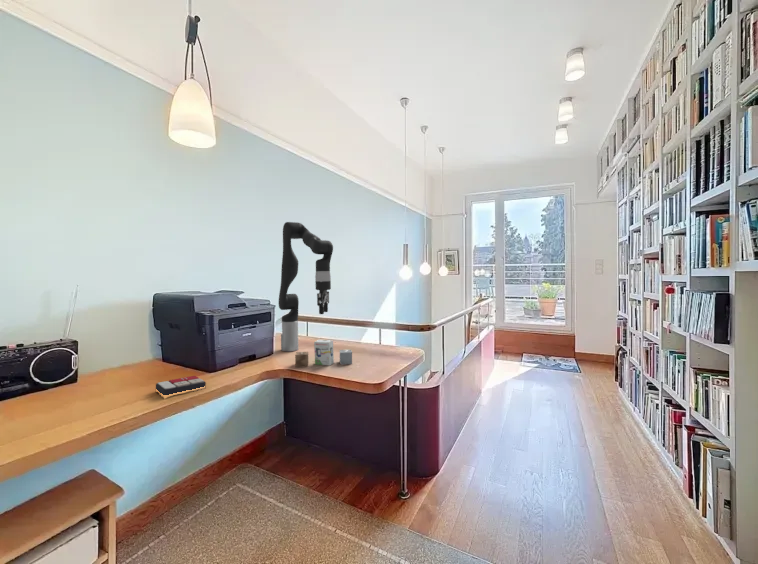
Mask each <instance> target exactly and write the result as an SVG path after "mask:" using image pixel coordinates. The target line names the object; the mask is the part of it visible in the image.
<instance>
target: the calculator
mask: <svg viewBox="0 0 758 564" xmlns="http://www.w3.org/2000/svg"><path fill="white" fill-rule="evenodd" d="M206 384H207V383H206V381H204V379H202V378H200V377H198V376H196V375H192V376H186V377H180V378H175V379H169V380H166V381H161V382H160V381H159V382H157V383H155V390H156V389H157V390H158V391H159V392H160V393H162V394H163V395H169V394H173V393H177V392H182V391H186V390H192V389H196V388H200V387H204V386H205V387H206Z"/></svg>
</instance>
